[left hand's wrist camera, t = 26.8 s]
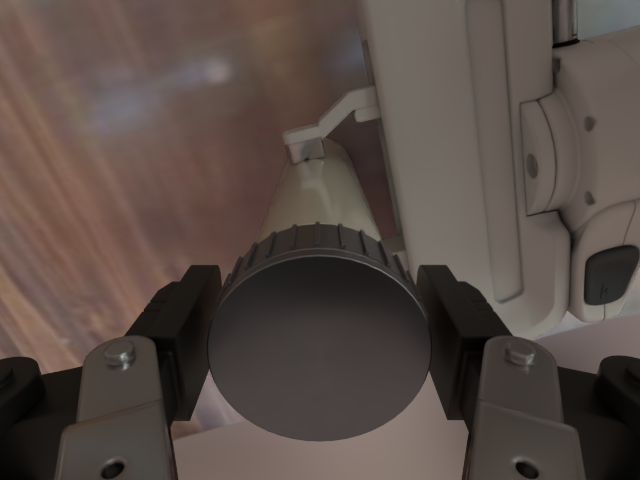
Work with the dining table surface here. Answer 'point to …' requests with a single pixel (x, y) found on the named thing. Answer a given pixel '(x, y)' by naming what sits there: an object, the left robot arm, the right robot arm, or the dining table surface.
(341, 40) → the dining table surface
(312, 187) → the bottle
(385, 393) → the lid
